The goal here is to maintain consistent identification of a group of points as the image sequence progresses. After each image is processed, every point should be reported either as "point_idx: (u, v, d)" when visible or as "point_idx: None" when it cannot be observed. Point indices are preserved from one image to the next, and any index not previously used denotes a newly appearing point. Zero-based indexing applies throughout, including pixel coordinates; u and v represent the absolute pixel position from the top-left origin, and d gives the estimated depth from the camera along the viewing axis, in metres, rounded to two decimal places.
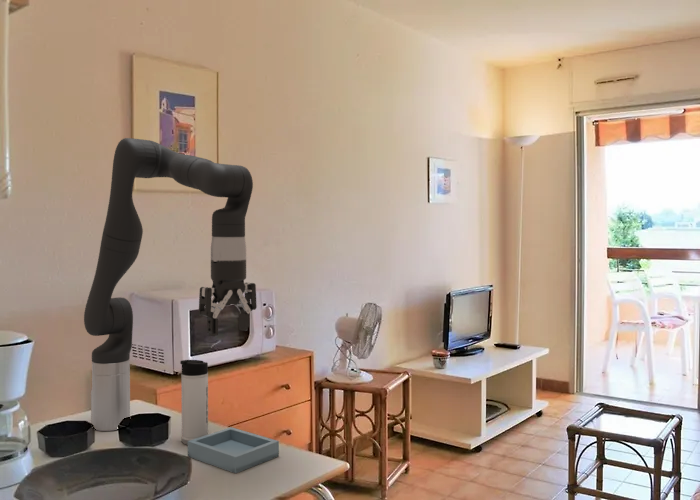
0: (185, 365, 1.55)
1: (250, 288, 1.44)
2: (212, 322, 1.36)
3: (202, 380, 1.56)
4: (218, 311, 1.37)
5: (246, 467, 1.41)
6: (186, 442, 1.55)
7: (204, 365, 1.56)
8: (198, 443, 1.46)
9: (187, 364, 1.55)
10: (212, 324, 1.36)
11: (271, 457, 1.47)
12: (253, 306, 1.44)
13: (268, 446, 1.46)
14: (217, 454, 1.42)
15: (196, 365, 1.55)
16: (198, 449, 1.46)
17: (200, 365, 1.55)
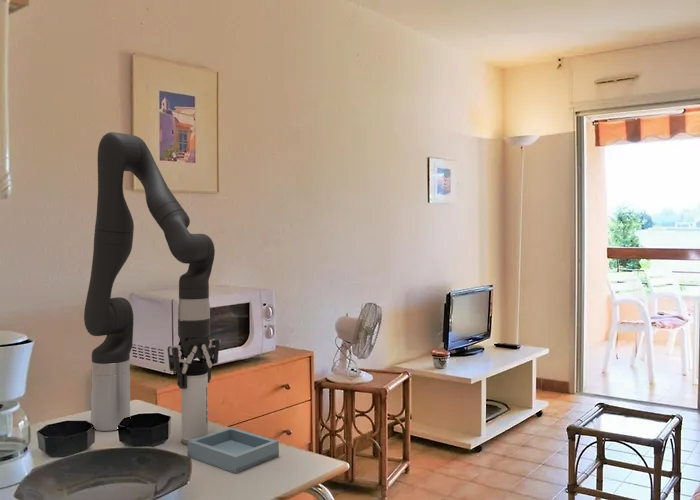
0: None
1: (214, 344, 1.61)
2: (181, 377, 1.54)
3: (202, 380, 1.56)
4: (186, 366, 1.54)
5: (246, 467, 1.41)
6: (186, 442, 1.55)
7: (204, 365, 1.56)
8: (198, 443, 1.46)
9: None
10: (181, 378, 1.54)
11: (271, 457, 1.47)
12: (214, 360, 1.61)
13: (268, 446, 1.46)
14: (217, 454, 1.42)
15: (196, 365, 1.54)
16: (198, 449, 1.46)
17: (200, 365, 1.55)
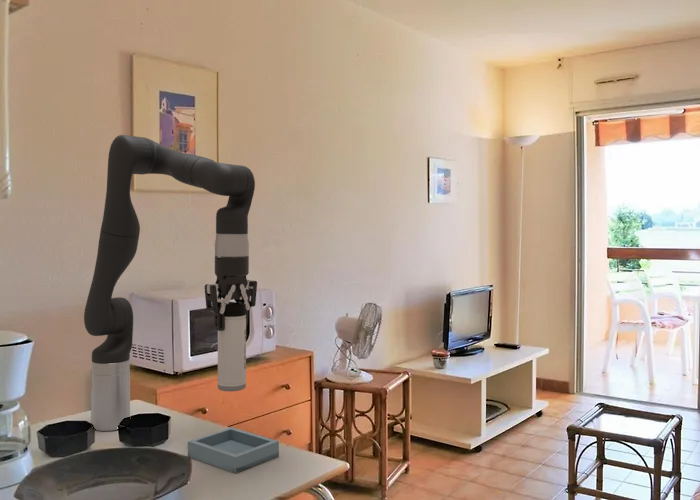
0: None
1: (252, 285, 1.50)
2: (219, 317, 1.43)
3: (241, 322, 1.45)
4: (224, 306, 1.43)
5: (246, 467, 1.41)
6: (223, 388, 1.45)
7: (243, 306, 1.45)
8: (198, 443, 1.46)
9: None
10: (219, 319, 1.43)
11: (271, 457, 1.47)
12: (252, 303, 1.50)
13: (268, 446, 1.46)
14: (217, 454, 1.42)
15: (234, 305, 1.44)
16: (198, 449, 1.46)
17: (239, 305, 1.44)
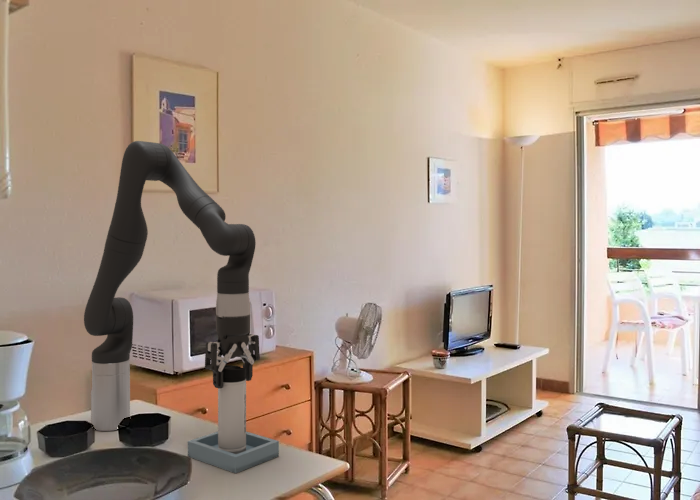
0: (222, 371, 1.45)
1: (254, 340, 1.51)
2: (217, 375, 1.43)
3: (241, 387, 1.45)
4: (223, 364, 1.43)
5: (246, 467, 1.41)
6: None
7: (242, 371, 1.46)
8: (198, 443, 1.46)
9: (225, 370, 1.44)
10: (217, 377, 1.43)
11: (271, 457, 1.47)
12: (256, 357, 1.51)
13: (268, 446, 1.46)
14: (217, 454, 1.42)
15: (234, 371, 1.44)
16: (198, 449, 1.46)
17: (238, 371, 1.45)
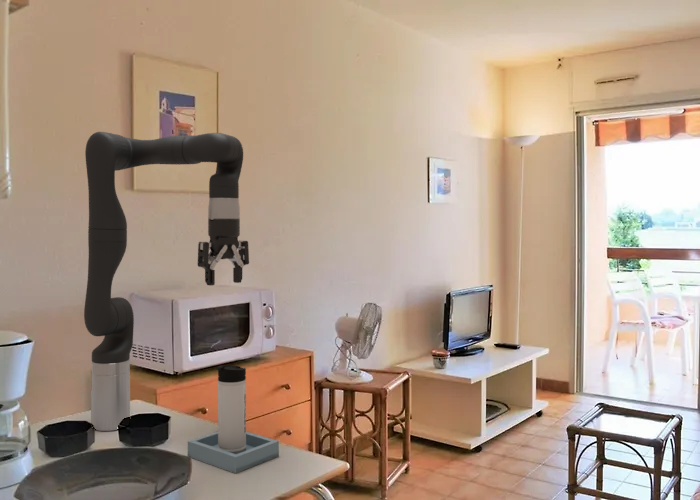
0: (222, 371, 1.45)
1: (244, 245, 1.62)
2: (209, 273, 1.54)
3: (241, 387, 1.45)
4: (214, 263, 1.55)
5: (246, 467, 1.41)
6: None
7: (242, 371, 1.46)
8: (198, 443, 1.46)
9: (224, 370, 1.44)
10: (209, 274, 1.54)
11: (271, 457, 1.47)
12: (246, 261, 1.63)
13: (268, 446, 1.46)
14: (217, 454, 1.42)
15: (234, 371, 1.44)
16: (198, 449, 1.46)
17: (238, 371, 1.45)
